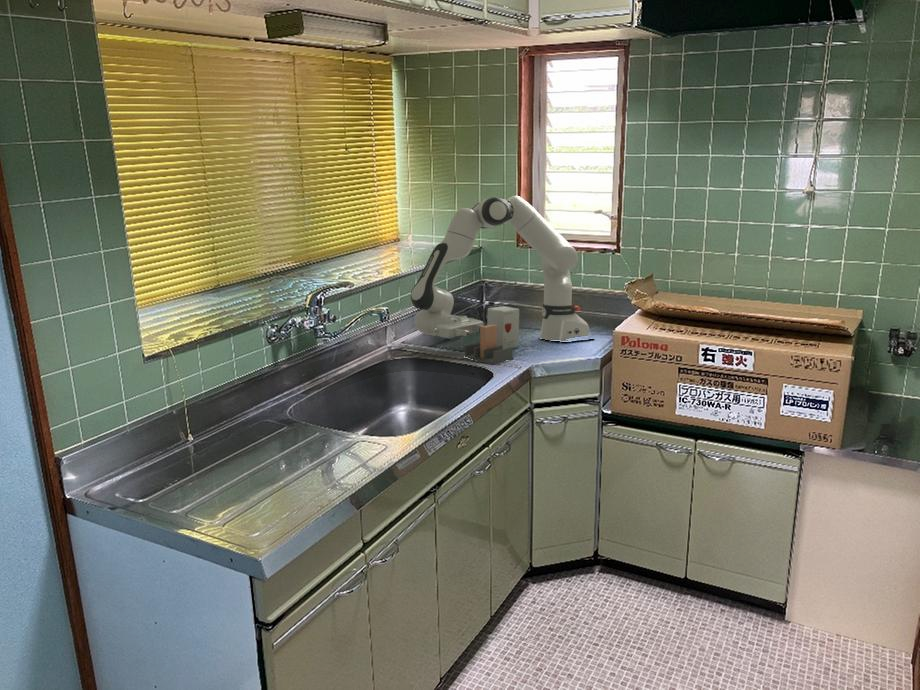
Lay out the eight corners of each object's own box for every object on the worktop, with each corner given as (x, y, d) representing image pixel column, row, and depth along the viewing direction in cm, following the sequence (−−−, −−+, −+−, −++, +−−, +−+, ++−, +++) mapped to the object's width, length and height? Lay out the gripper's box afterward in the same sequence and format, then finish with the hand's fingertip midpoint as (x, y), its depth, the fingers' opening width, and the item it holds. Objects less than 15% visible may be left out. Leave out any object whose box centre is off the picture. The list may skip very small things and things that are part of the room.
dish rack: (483, 353, 273) (483, 341, 272) (513, 359, 263) (513, 347, 262) (463, 358, 265) (463, 346, 264) (493, 364, 255) (493, 352, 254)
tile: (491, 354, 267) (491, 324, 265) (496, 355, 265) (496, 325, 263) (480, 357, 263) (480, 326, 260) (485, 358, 261) (485, 327, 259)
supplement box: (502, 350, 278) (503, 311, 275) (486, 346, 285) (486, 308, 281) (519, 347, 284) (520, 308, 281) (503, 343, 290) (503, 305, 287)
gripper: (428, 321, 267) (456, 326, 258) (467, 314, 282) (494, 319, 272) (428, 338, 268) (456, 344, 259) (466, 331, 283) (494, 336, 274)
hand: (476, 331), depth 266 cm, fingers open, 8 cm apart
